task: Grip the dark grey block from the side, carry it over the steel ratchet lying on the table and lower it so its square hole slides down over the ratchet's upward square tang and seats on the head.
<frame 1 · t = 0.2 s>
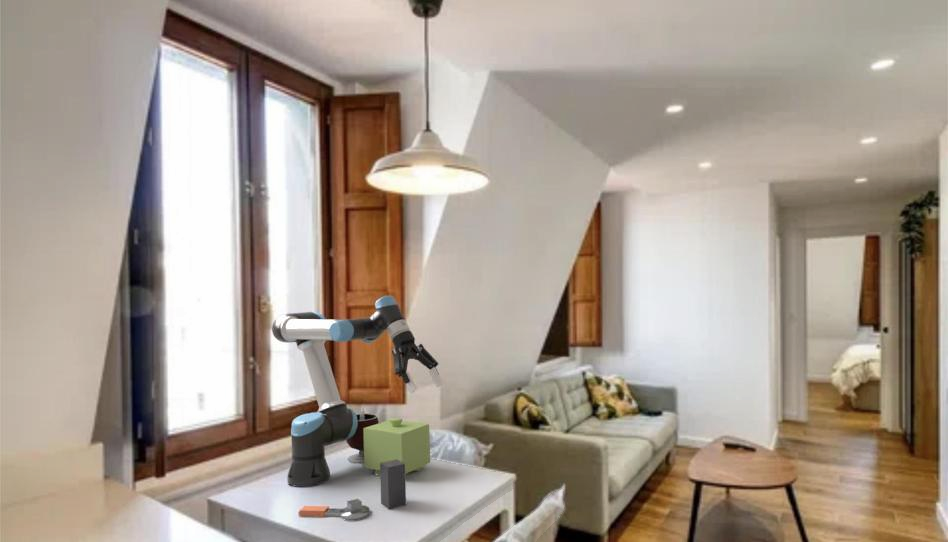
hand: (427, 388, 186), 35 cm above the table, tool tilted 35°, fingers open, 13 cm apart
container: (397, 471, 208), on the table
dark grey block: (393, 504, 175), on the table
mate gourd: (362, 458, 226), on the table
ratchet: (354, 514, 168), on the table
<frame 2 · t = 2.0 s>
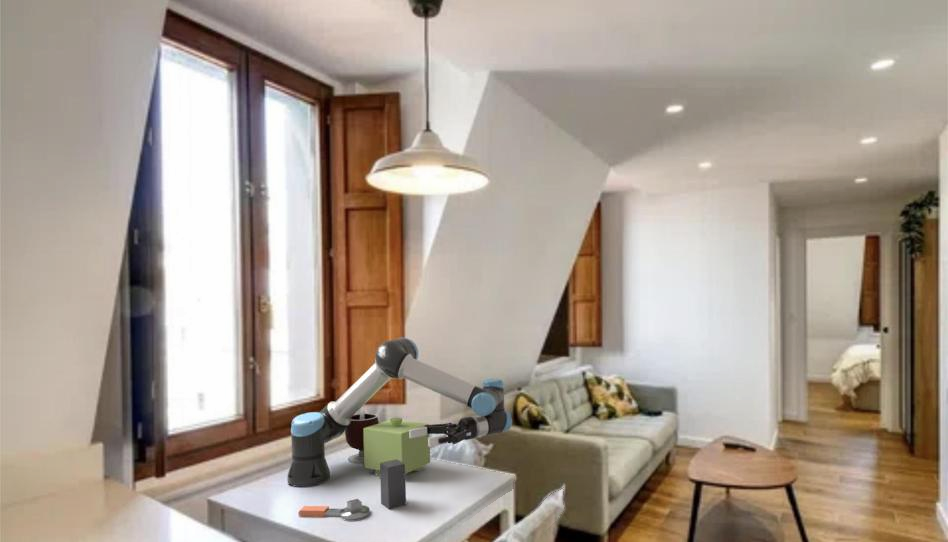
hand: (418, 438, 181), 19 cm above the table, tool horizontal, fingers open, 13 cm apart
mate gourd: (362, 458, 226), on the table, touching arm
everything else where it was.
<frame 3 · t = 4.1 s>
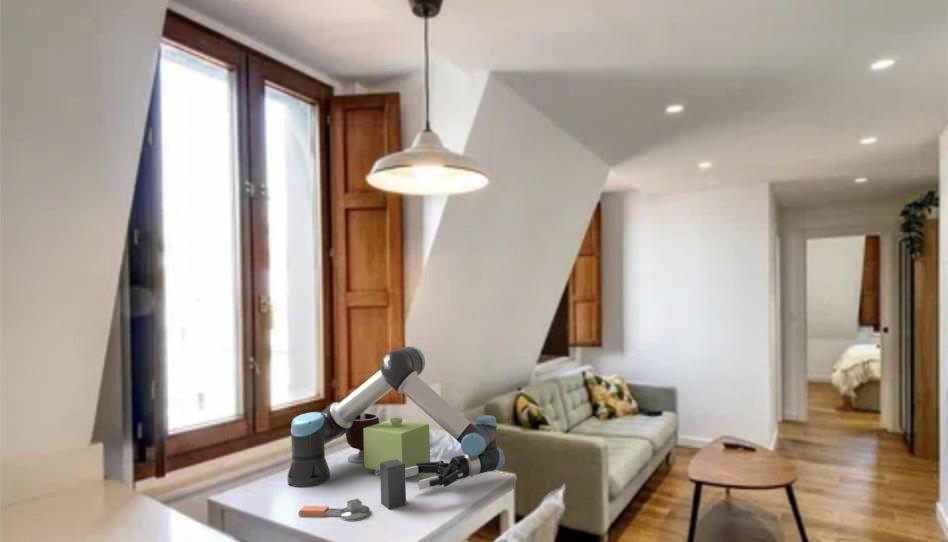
hand: (409, 479, 178), 7 cm above the table, tool horizontal, fingers open, 13 cm apart
nothing on the table moved.
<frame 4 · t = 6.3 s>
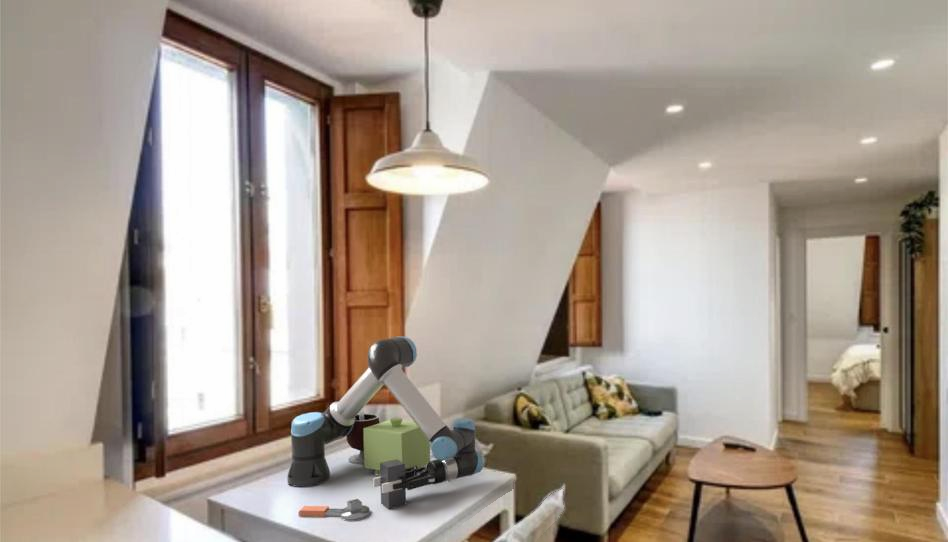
hand: (378, 485, 173), 7 cm above the table, tool horizontal, fingers closed on dark grey block, 6 cm apart
dark grey block: (393, 504, 175), on the table, touching gripper
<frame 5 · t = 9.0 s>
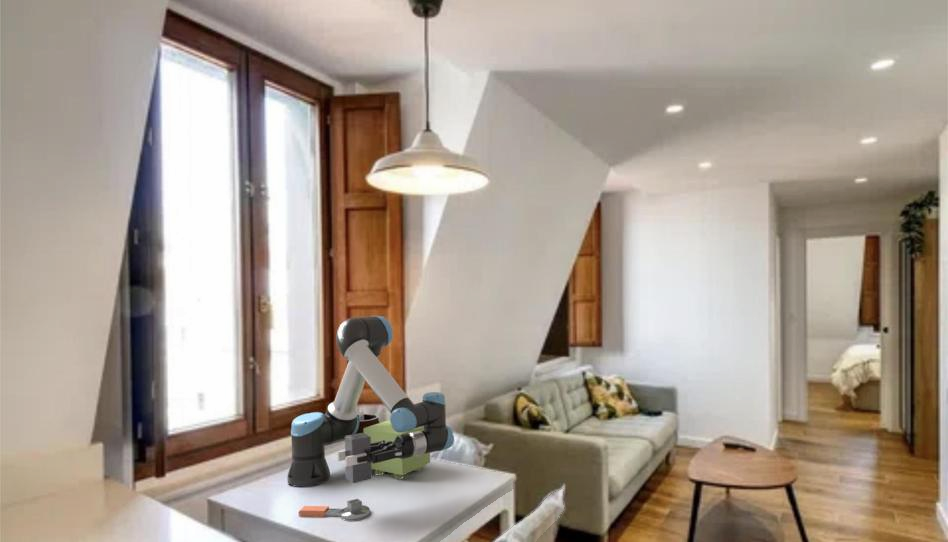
hand: (342, 459, 166), 18 cm above the table, tool horizontal, fingers closed on dark grey block, 6 cm apart
dark grey block: (358, 478, 169), point 11 cm above the table, touching gripper
mate gourd: (363, 459, 225), on the table
everything else where it was.
when the fingers open (10 cm above the table, at t = 11.4 s): dark grey block drops 2 cm, point 1 cm above the table.
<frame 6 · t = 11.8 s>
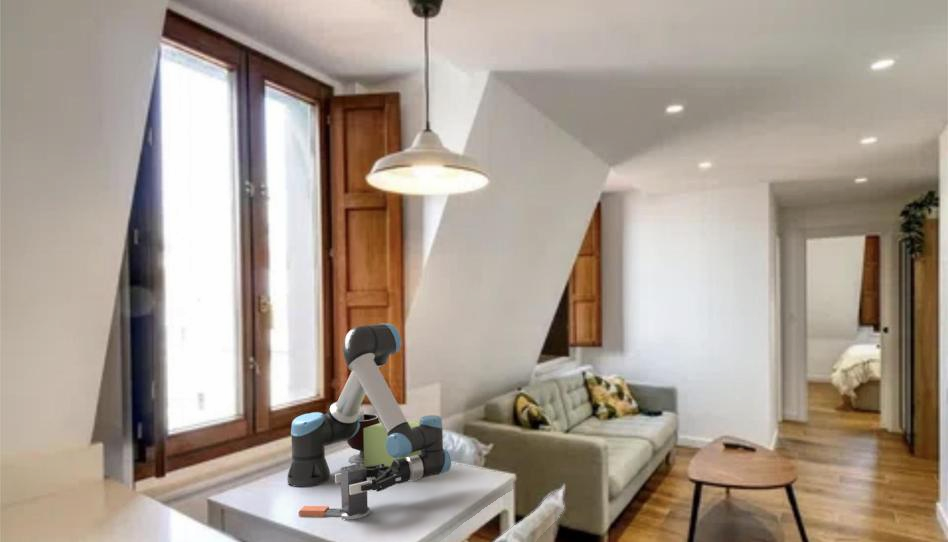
hand: (342, 484, 166), 10 cm above the table, tool horizontal, fingers open, 12 cm apart
dark grey block: (354, 510, 168), point 1 cm above the table
everything else where it was.
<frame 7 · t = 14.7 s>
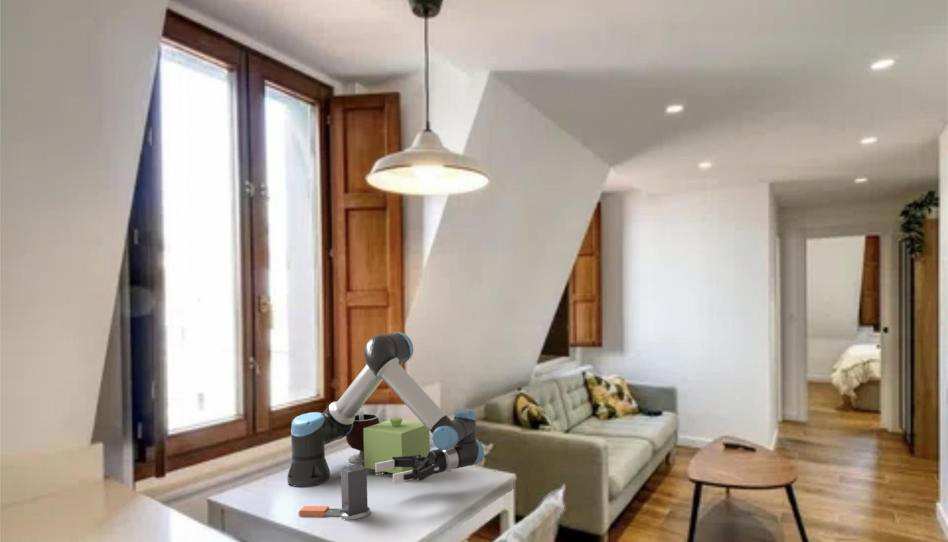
hand: (384, 473, 174), 10 cm above the table, tool horizontal, fingers open, 13 cm apart
dark grey block: (354, 510, 168), point 1 cm above the table, touching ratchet
mate gourd: (363, 459, 225), on the table, touching arm
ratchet: (354, 514, 168), on the table, touching dark grey block
everything else where it was.
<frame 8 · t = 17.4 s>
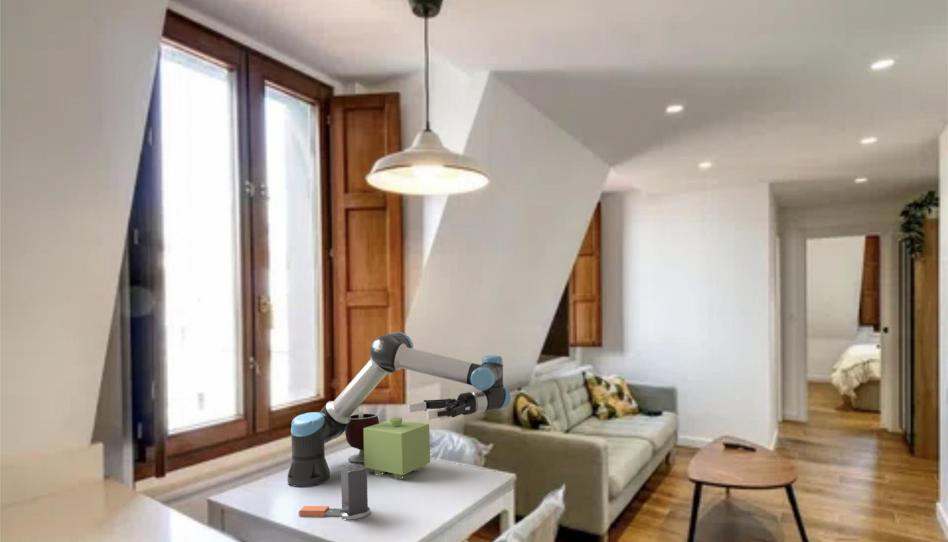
hand: (417, 411, 182), 28 cm above the table, tool horizontal, fingers open, 13 cm apart
at the end: dark grey block 0.0 cm from the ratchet (horizontally); dark grey block point 1.1 cm above the table; dark grey block tilted 0° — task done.
